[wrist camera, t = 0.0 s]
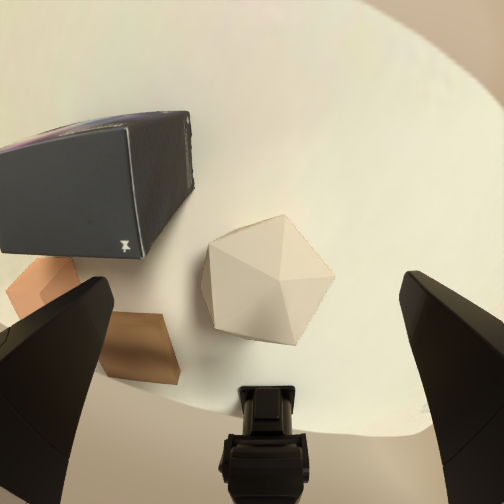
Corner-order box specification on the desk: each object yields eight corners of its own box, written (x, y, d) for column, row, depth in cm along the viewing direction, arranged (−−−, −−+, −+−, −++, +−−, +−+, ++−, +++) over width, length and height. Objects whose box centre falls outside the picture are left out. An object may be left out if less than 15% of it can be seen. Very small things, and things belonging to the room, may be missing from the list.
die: (197, 275, 27) (240, 380, 22) (169, 212, 19) (224, 358, 15) (284, 240, 29) (338, 335, 24) (288, 170, 21) (370, 291, 16)
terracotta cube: (86, 298, 29) (60, 337, 23) (52, 296, 29) (26, 331, 24) (71, 257, 26) (39, 293, 21) (37, 257, 26) (5, 290, 21)
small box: (191, 104, 19) (131, 119, 10) (196, 190, 23) (150, 266, 13) (68, 122, 20) (-27, 156, 11) (79, 196, 23) (1, 259, 14)
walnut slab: (180, 371, 33) (177, 384, 31) (113, 364, 34) (108, 376, 32) (162, 314, 29) (156, 327, 27) (87, 309, 29) (79, 321, 28)
